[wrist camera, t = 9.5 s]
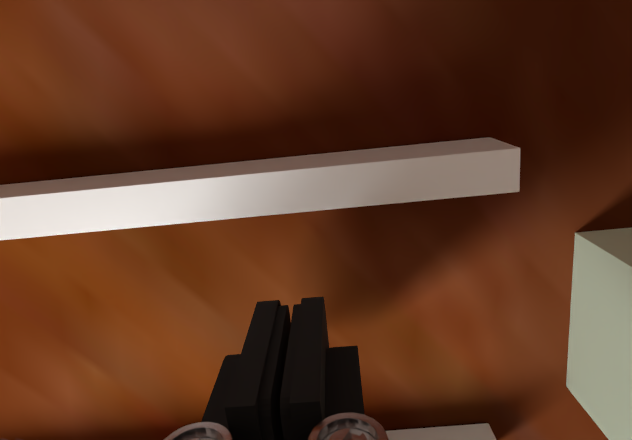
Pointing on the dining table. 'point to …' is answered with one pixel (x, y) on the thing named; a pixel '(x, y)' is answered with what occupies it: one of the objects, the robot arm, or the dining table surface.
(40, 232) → the channel
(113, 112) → the dining table surface
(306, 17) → the dining table surface
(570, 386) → the block
